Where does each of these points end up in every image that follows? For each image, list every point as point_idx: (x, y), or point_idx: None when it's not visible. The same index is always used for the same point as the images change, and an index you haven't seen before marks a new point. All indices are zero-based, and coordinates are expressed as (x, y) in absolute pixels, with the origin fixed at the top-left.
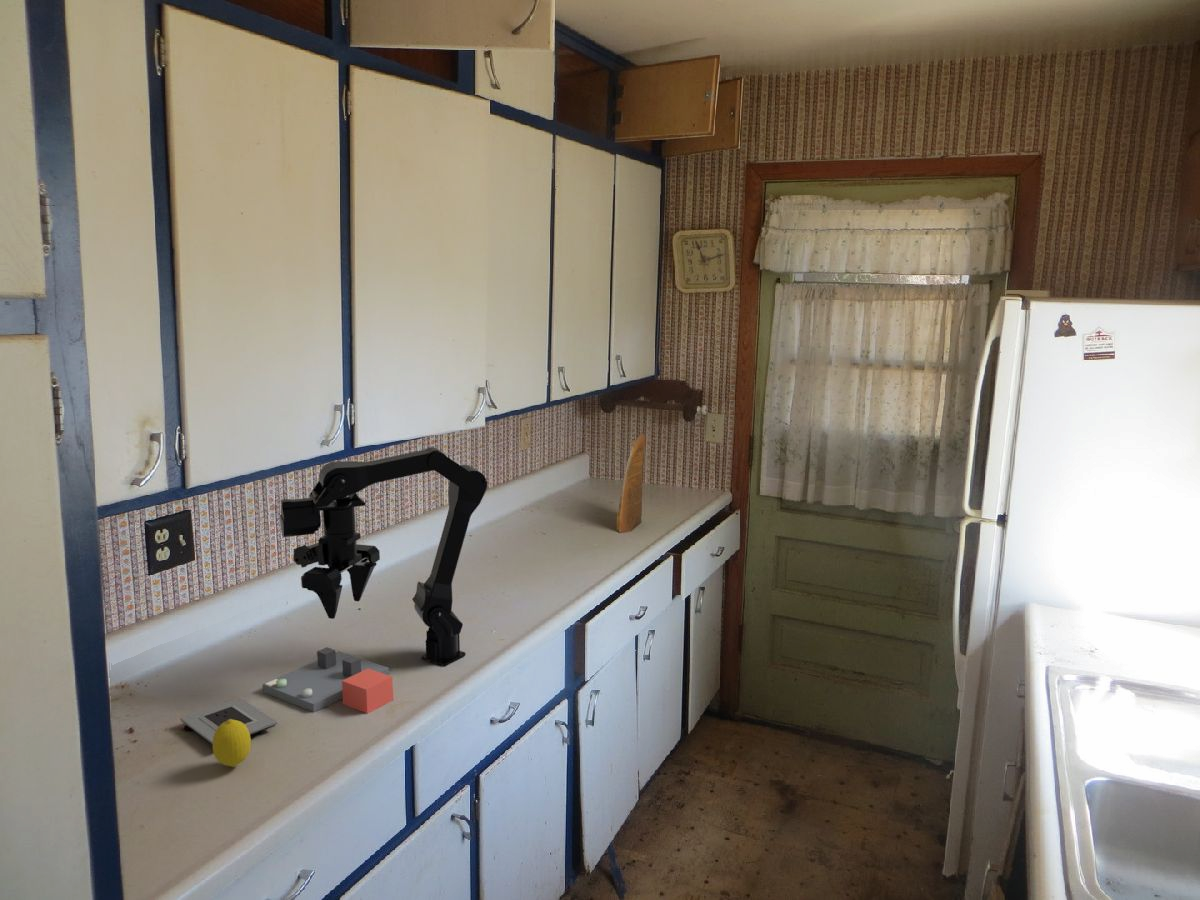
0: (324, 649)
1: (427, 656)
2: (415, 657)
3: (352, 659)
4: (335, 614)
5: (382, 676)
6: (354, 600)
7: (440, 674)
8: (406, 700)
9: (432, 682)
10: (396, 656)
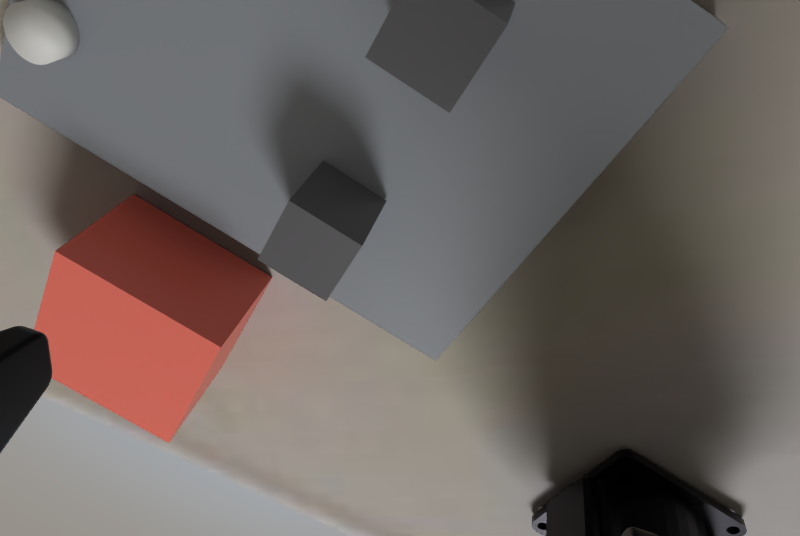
0: (459, 16)
1: (577, 491)
2: (651, 423)
3: (306, 258)
4: (9, 425)
5: (160, 409)
6: (625, 531)
7: (457, 499)
8: (229, 406)
9: (385, 476)
10: (681, 346)
